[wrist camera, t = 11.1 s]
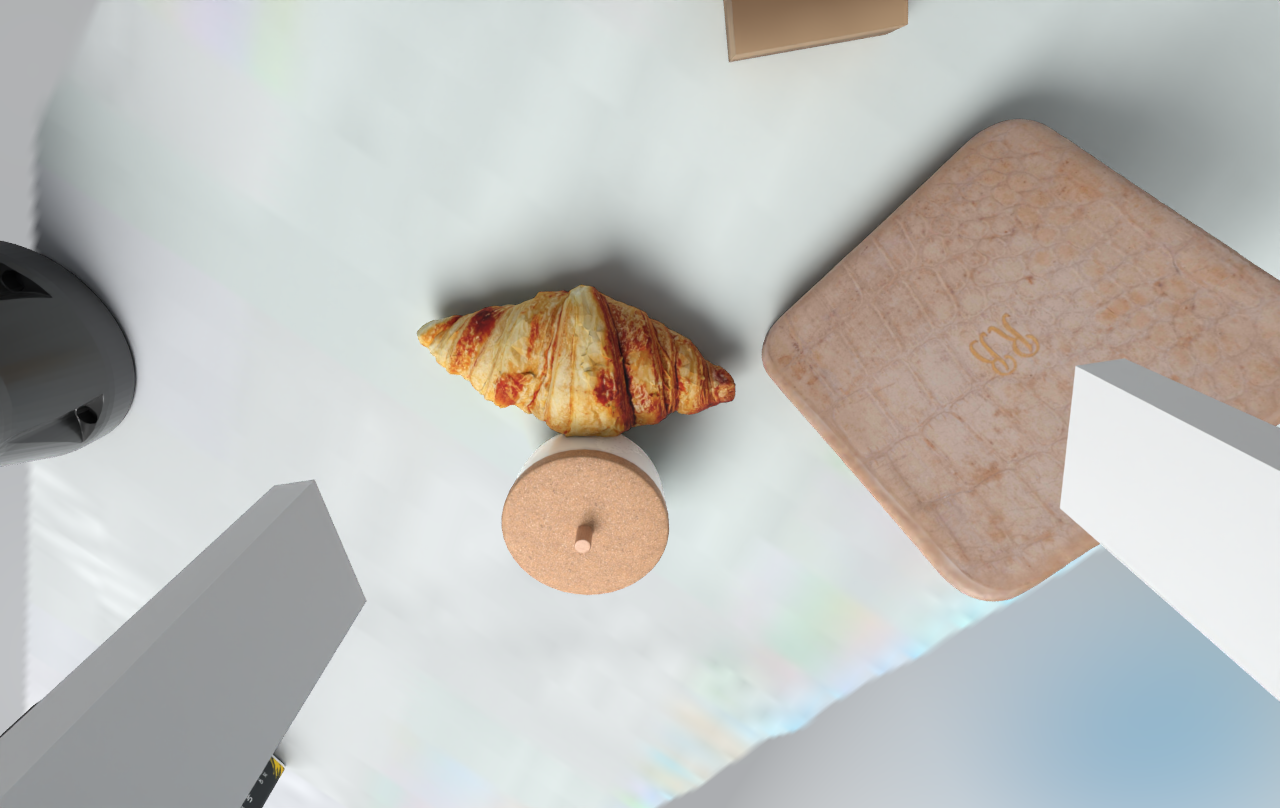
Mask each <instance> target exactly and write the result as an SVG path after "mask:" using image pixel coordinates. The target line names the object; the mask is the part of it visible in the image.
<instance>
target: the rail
mask: <svg viewBox="0 0 1280 808" xmlns="http://www.w3.org/2000/svg"><path fill="white" fill-rule="evenodd" d="M723 1H724V12H725V23H726V35H727V46H728V58H729V62H732V61H738V60H744V59H749V58H755V57H761V56H766V55H772V54H778V53H783V52H789V51H795V50H800V49H806V48H812V47H817V46H823V45H829V44H834V43H840V42H846V41H851V40H857V39H863V38H868V37H874V36H880V35H885V34H888V33H890V32H892V31H894V30H897V29H899V28H901V27H903V26H905V25H907V24H908V0H723Z"/></svg>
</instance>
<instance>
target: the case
mask: <svg viewBox="0 0 1280 808" xmlns="http://www.w3.org/2000/svg"><path fill="white" fill-rule="evenodd" d="M1124 358H1125V359H1127V360H1129V361H1131V362H1133V363H1136V364H1138V365H1140V366H1142V367H1145V368H1147V369H1149V370H1151V371H1154V372H1156V373H1158V374H1160V375H1162V376H1165V377H1167V378H1169V379H1171V380H1174V381H1176V382H1178V383H1180V384H1183V385H1185V386H1187V387H1189V388H1191V389H1194V390H1196V391H1198V392H1200V393H1203V394H1205V395H1207V396H1209V397H1212V398H1214V399H1216V400H1218V401H1220V402H1223V403H1225V404H1227V405H1229V406H1232V407H1234V408H1236V409H1238V410H1241V411H1243V412H1245V413H1247V414H1249V415H1252V416H1254V417H1256V418H1258V419H1261V420H1263V421H1265V422H1267V423H1270V424H1272V425H1274V426H1277V425H1278V424H1280V281H1279V280H1278V279H1276V278H1275V277H1273V276H1272V275H1270V274H1269V273H1267V272H1266V271H1264V270H1263V269H1261V268H1259V267H1258V266H1256V265H1255V264H1253V263H1252V262H1250V261H1249V260H1247V259H1246V258H1244V257H1243V256H1241V255H1240V254H1239V253H1238V252H1236V251H1235V250H1233V249H1232V248H1230V247H1229V246H1227V245H1226V244H1224V243H1223V242H1221V241H1220V240H1218V239H1217V238H1215V237H1214V236H1212V235H1211V234H1209V233H1207V232H1206V231H1204V230H1203V229H1202V228H1200V227H1198V226H1197V225H1195V224H1193V223H1192V222H1190V221H1189V220H1188V219H1186V218H1185V217H1183V216H1181V215H1180V214H1178V213H1177V212H1176V211H1174V210H1173V209H1171V208H1170V207H1168V206H1166V205H1165V204H1163V203H1161V202H1160V201H1159V200H1157V199H1156V198H1154V197H1153V196H1151V195H1150V194H1149V193H1147V192H1146V191H1144V190H1142V189H1141V188H1139V187H1138V186H1136V185H1134V184H1133V183H1132V182H1130V181H1129V180H1127V179H1126V178H1125V177H1123V176H1122V175H1120V174H1118V173H1117V172H1115V171H1114V170H1112V169H1110V168H1109V167H1108V166H1106V165H1105V164H1103V163H1102V162H1100V161H1099V160H1097V159H1096V158H1095V157H1093V156H1092V155H1090V154H1089V153H1087V152H1086V151H1084V150H1083V149H1081V148H1080V147H1078V146H1077V145H1075V144H1074V143H1073V142H1071V141H1070V140H1068V139H1067V138H1065V137H1063V136H1062V135H1060V134H1059V133H1057V132H1056V131H1054V130H1053V129H1051V128H1050V127H1048V126H1046V125H1044V124H1042V123H1039V122H1036V121H1033V120H1027V119H1012V120H1006V121H1002V122H999V123H997V124H994V125H992V126H990V127H988V128H986V129H984V130H982V131H981V132H979V133H978V134H976V135H975V136H974V137H972V138H971V139H970V140H969V141H968V142H966V143H965V144H964V145H963V146H962V147H961V148H960V149H959V150H958V151H957V152H956V153H955V154H954V155H953V156H952V157H951V158H950V159H949V160H948V161H946V162H945V163H944V164H943V165H942V166H941V167H940V168H939V169H938V170H937V171H936V172H935V173H934V174H933V175H932V176H931V177H930V178H929V179H928V180H927V181H926V182H925V183H924V184H922V185H921V186H920V187H919V188H918V189H917V190H916V191H915V192H914V193H913V194H912V195H911V196H910V197H909V198H908V199H907V200H906V201H904V202H903V203H902V204H901V205H900V206H899V207H898V208H897V209H896V210H895V211H894V212H893V213H892V214H891V215H890V216H889V217H887V218H886V219H885V220H884V221H883V222H882V223H881V224H880V225H879V226H878V227H877V228H876V229H875V230H874V231H873V232H872V233H871V234H869V235H868V236H867V237H866V238H865V239H864V240H863V241H862V242H861V243H860V244H859V245H857V246H856V247H855V248H854V249H853V250H852V251H851V252H850V253H849V254H847V255H846V256H845V257H844V258H843V259H842V260H841V261H840V262H839V263H838V264H837V265H836V266H835V267H833V268H832V270H830V271H829V272H828V273H827V274H826V275H825V276H824V277H823V278H822V279H821V280H820V281H819V282H818V283H816V284H815V285H814V286H813V287H812V288H811V289H810V290H809V291H808V292H807V293H806V294H804V295H803V296H802V297H801V298H800V299H799V300H798V301H797V302H796V303H795V304H794V305H793V306H792V307H791V308H790V309H789V310H787V311H786V312H785V313H784V314H783V315H782V316H781V317H780V318H779V319H778V320H777V321H776V322H775V324H774V325H773V326H772V327H771V328H770V330H769V331H768V333H767V335H766V337H765V340H764V343H763V347H762V361H763V365H764V368H765V370H766V372H767V373H768V375H769V376H770V378H771V379H772V380H773V381H774V382H775V383H776V385H777V386H778V387H779V388H780V389H781V391H782V392H783V393H784V394H785V395H786V397H787V398H788V399H789V400H790V401H791V402H792V403H793V404H794V406H795V407H796V408H797V409H798V410H799V411H800V412H801V414H802V415H803V416H804V417H805V418H806V419H807V421H808V422H809V423H810V424H811V425H812V426H813V427H814V428H815V429H816V430H817V432H818V433H819V434H820V435H821V436H822V438H823V439H824V440H825V441H826V442H827V443H828V444H829V445H830V447H831V448H832V449H833V450H834V451H835V452H836V453H837V455H838V456H839V457H840V458H841V459H842V461H843V462H844V463H845V464H846V466H847V467H848V468H849V469H850V470H851V471H852V472H853V473H854V475H855V476H856V477H857V478H858V479H859V480H860V482H861V483H862V484H863V485H864V486H865V487H866V488H867V489H868V491H869V492H870V493H871V494H872V495H873V497H874V498H875V499H876V500H877V501H878V502H879V503H880V504H881V506H882V507H883V508H884V510H885V511H886V512H887V513H888V514H889V515H890V516H891V518H892V519H893V520H894V521H895V522H896V523H897V524H898V526H899V527H900V528H901V529H902V530H903V532H904V533H905V534H906V535H907V536H908V537H909V538H910V540H911V541H912V542H913V543H914V544H915V545H916V546H917V548H918V549H919V550H920V551H921V553H922V554H923V555H924V556H925V557H926V558H927V560H928V561H929V562H930V563H931V564H932V565H933V567H934V568H935V569H936V570H937V571H938V572H939V573H940V575H941V576H942V577H943V578H944V579H945V580H946V581H947V582H949V583H950V584H951V585H952V586H953V587H955V588H956V589H958V590H959V591H961V592H962V593H964V594H966V595H968V596H970V597H973V598H976V599H979V600H984V601H1003V600H1008V599H1012V598H1014V597H1016V596H1018V595H1020V594H1022V593H1024V592H1026V591H1028V590H1029V589H1031V588H1033V587H1034V586H1036V585H1038V584H1039V583H1041V582H1042V581H1044V580H1045V579H1047V578H1048V577H1050V576H1051V575H1053V574H1054V573H1056V572H1057V571H1059V570H1060V569H1062V568H1063V567H1065V566H1066V565H1067V564H1068V563H1070V562H1071V561H1073V560H1075V559H1076V558H1078V557H1080V556H1081V555H1083V554H1084V553H1085V552H1087V551H1089V550H1090V549H1092V548H1094V547H1095V546H1097V545H1099V544H1100V543H1099V542H1098V541H1097V540H1095V539H1094V538H1093V537H1092V536H1091V535H1090V534H1089V533H1088V532H1086V531H1085V530H1084V529H1083V528H1082V527H1081V526H1080V525H1078V524H1077V523H1076V522H1075V521H1074V520H1073V519H1072V518H1070V517H1069V516H1068V515H1067V514H1066V513H1065V512H1064V511H1062V510H1061V509H1060V502H1061V493H1062V484H1063V475H1064V466H1065V457H1066V448H1067V439H1068V430H1069V421H1070V412H1071V403H1072V394H1073V385H1074V376H1075V367H1076V366H1077V365H1084V364H1091V363H1097V362H1104V361H1111V360H1118V359H1124Z"/></svg>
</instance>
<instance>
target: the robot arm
mask: <svg viewBox="0 0 1280 808" xmlns="http://www.w3.org/2000/svg"><path fill="white" fill-rule="evenodd" d="M134 388H135V372H134V365H133V360H132V356H131V353H130V350H129V347H128V344H127V342H126V339H125V337H124V335H123V333H122V331H121V329H120V327H119V325H118V324H117V322H116V321H115V319H114V317H113V316H112V315H111V313H110V312H109V310H108V309H107V308H106V306H105V305H104V304H103V303H102V302H101V300H100V299H99V298H98V297H97V296H96V295H95V294H94V293H93V292H92V291H91V290H90V289H89V288H88V287H87V286H86V285H85V284H84V283H83V282H82V281H80V280H79V279H78V278H77V277H76V276H74V275H73V274H72V273H70V272H69V271H68V270H66V269H65V268H63V267H62V266H60V265H59V264H57V263H56V262H54V261H52V260H50V259H49V258H47V257H45V256H43V255H41V254H39V253H37V252H34V251H32V250H30V249H27V248H24V247H22V246H18V245H16V244H12V243H8V242H4V241H0V467H2V466H7V465H13V464H18V463H24V462H29V461H35V460H40V459H46V458H51V457H57V456H61V455H64V454H67V453H70V452H73V451H76V450H78V449H80V448H82V447H84V446H86V445H88V444H90V443H92V442H93V441H95V440H97V439H99V438H101V437H103V436H105V435H106V434H108V433H109V432H111V431H112V430H113V429H114V428H115V427H117V426H118V425H119V423H120V422H121V421H122V420H123V418H124V417H125V415H126V414H127V412H128V410H129V408H130V405H131V402H132V399H133V395H134ZM1060 509H1061V510H1062V511H1064V512H1065V513H1066V514H1067V515H1068V516H1069V517H1070V518H1072V519H1073V520H1074V521H1075V522H1076V523H1077V524H1078V525H1080V526H1081V527H1082V528H1083V529H1084V530H1085V531H1086V532H1088V533H1089V534H1090V535H1091V536H1092V537H1093V538H1094V539H1095V540H1097V541H1098V542H1099V543H1100V544H1101V545H1102V546H1103V547H1105V548H1106V549H1107V550H1108V551H1109V552H1110V553H1111V554H1113V555H1114V556H1115V557H1116V558H1117V559H1118V560H1119V561H1121V562H1122V563H1123V564H1124V565H1125V566H1126V567H1127V568H1129V569H1130V570H1131V571H1132V572H1133V573H1134V574H1135V575H1137V576H1138V577H1139V578H1140V579H1141V580H1142V581H1143V582H1144V583H1146V584H1147V585H1148V586H1149V587H1150V588H1151V589H1152V590H1153V591H1155V592H1156V593H1157V594H1158V595H1159V596H1160V597H1162V598H1163V599H1164V600H1165V601H1166V602H1167V603H1168V604H1170V605H1171V606H1172V607H1173V608H1174V609H1175V610H1176V611H1178V612H1179V613H1180V614H1181V615H1182V616H1183V617H1184V618H1185V619H1186V620H1188V621H1189V622H1190V623H1191V624H1192V625H1193V626H1194V627H1196V628H1197V629H1198V630H1199V631H1200V632H1201V633H1202V634H1204V635H1205V636H1206V637H1207V638H1208V639H1209V640H1211V642H1213V643H1214V644H1215V645H1216V646H1217V647H1218V648H1219V649H1221V650H1222V651H1223V652H1224V653H1225V654H1226V655H1227V656H1229V657H1230V658H1231V659H1232V660H1233V661H1234V662H1235V663H1237V664H1238V665H1239V666H1240V667H1241V668H1242V669H1243V670H1244V671H1246V672H1247V673H1248V674H1249V675H1250V676H1251V677H1252V678H1254V679H1255V680H1256V681H1257V682H1258V683H1259V684H1260V685H1262V686H1263V687H1264V688H1265V689H1266V690H1267V691H1268V692H1270V693H1271V694H1272V695H1273V696H1274V697H1275V698H1276V699H1278V700H1279V701H1280V428H1278V427H1276V426H1274V425H1272V424H1270V423H1267V422H1265V421H1263V420H1261V419H1258V418H1256V417H1254V416H1252V415H1249V414H1247V413H1245V412H1243V411H1241V410H1238V409H1236V408H1234V407H1232V406H1229V405H1227V404H1225V403H1223V402H1220V401H1218V400H1216V399H1214V398H1212V397H1209V396H1207V395H1205V394H1203V393H1200V392H1198V391H1196V390H1194V389H1191V388H1189V387H1187V386H1185V385H1183V384H1180V383H1178V382H1176V381H1174V380H1171V379H1169V378H1167V377H1165V376H1162V375H1160V374H1158V373H1156V372H1154V371H1151V370H1149V369H1147V368H1145V367H1142V366H1140V365H1138V364H1136V363H1133V362H1131V361H1129V360H1127V359H1125V358H1124V359H1118V360H1111V361H1104V362H1097V363H1091V364H1084V365H1077V366H1076V367H1075V376H1074V385H1073V394H1072V403H1071V412H1070V421H1069V430H1068V439H1067V448H1066V457H1065V466H1064V475H1063V484H1062V493H1061V502H1060ZM365 602H366V599H365V596H364V594H363V592H362V589H361V587H360V585H359V582H358V580H357V578H356V575H355V573H354V571H353V568H352V566H351V564H350V561H349V559H348V557H347V554H346V552H345V550H344V547H343V545H342V543H341V540H340V538H339V536H338V533H337V531H336V529H335V526H334V524H333V522H332V519H331V517H330V515H329V512H328V510H327V508H326V505H325V503H324V501H323V498H322V496H321V494H320V491H319V489H318V487H317V484H316V482H315V480H309V481H302V482H295V483H289V484H282V485H275V486H273V487H272V488H271V489H270V490H269V491H268V492H267V493H266V494H265V495H263V496H262V497H261V498H260V499H259V500H258V501H257V502H256V503H255V504H254V505H253V506H252V507H250V508H249V509H248V510H247V511H246V512H245V513H244V514H243V515H242V516H241V517H240V518H239V519H237V520H236V521H235V522H234V523H233V524H232V525H231V526H230V527H229V528H228V529H227V530H225V531H224V532H223V533H222V534H221V535H220V536H219V537H218V538H217V539H216V540H215V541H214V542H212V543H211V544H210V545H209V546H208V547H207V548H206V549H205V550H204V551H203V552H202V553H201V554H199V555H198V556H197V557H196V558H195V559H194V560H193V561H192V562H191V563H190V564H189V565H188V566H186V567H185V568H184V569H183V570H182V571H181V572H180V573H179V574H178V575H177V576H176V577H174V578H173V579H172V580H171V581H170V582H169V583H168V584H167V585H166V586H165V587H164V588H163V589H161V590H160V591H159V592H158V593H157V594H156V595H155V596H154V597H153V598H152V599H151V600H150V601H148V602H147V603H146V604H145V605H144V606H143V607H142V608H141V609H140V610H139V611H138V612H136V613H135V614H134V615H133V616H132V617H131V618H130V619H129V620H128V621H127V622H126V623H125V624H123V625H122V626H121V627H120V628H119V629H118V630H117V631H116V632H115V633H114V634H113V635H112V636H110V637H109V638H108V639H107V640H106V641H105V642H104V643H103V644H102V645H101V646H100V647H98V648H97V649H96V650H95V651H94V652H93V653H92V654H91V655H90V656H89V657H88V658H87V659H85V660H84V661H83V662H82V663H81V664H80V665H79V666H78V667H77V668H76V669H75V670H74V671H72V672H71V673H70V674H69V675H68V676H67V677H66V678H65V679H64V680H63V681H62V682H61V683H59V684H58V685H57V686H56V687H55V688H54V689H53V690H52V691H51V692H50V693H49V694H47V695H46V696H45V697H44V698H43V699H42V700H41V701H39V702H38V703H36V704H35V705H33V706H32V707H31V708H30V709H29V710H28V711H27V712H26V713H25V714H24V715H23V716H21V717H20V718H19V719H18V720H17V721H16V722H15V723H14V724H13V725H12V726H11V727H9V728H8V729H7V730H6V731H5V732H4V733H3V734H2V735H1V736H0V808H240V807H241V806H242V804H243V802H244V801H245V799H246V798H247V796H248V794H249V793H250V791H251V789H252V788H253V786H254V784H255V783H256V781H257V779H258V778H259V776H260V775H261V773H262V771H263V770H264V768H265V766H266V765H267V763H268V761H269V760H270V758H271V757H272V755H273V753H274V752H275V750H276V748H277V747H278V745H279V743H280V742H281V740H282V739H283V737H284V735H285V734H286V732H287V730H288V729H289V727H290V725H291V724H292V722H293V720H294V719H295V717H296V716H297V714H298V712H299V711H300V709H301V707H302V706H303V704H304V702H305V701H306V699H307V698H308V696H309V694H310V693H311V691H312V689H313V688H314V686H315V684H316V683H317V681H318V679H319V678H320V676H321V675H322V673H323V671H324V670H325V668H326V666H327V665H328V663H329V661H330V660H331V658H332V657H333V655H334V653H335V652H336V650H337V648H338V647H339V645H340V643H341V642H342V640H343V638H344V637H345V635H346V634H347V632H348V630H349V629H350V627H351V625H352V624H353V622H354V620H355V619H356V617H357V616H358V614H359V612H360V611H361V609H362V607H363V606H364V604H365Z"/></svg>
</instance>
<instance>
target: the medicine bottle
mask: <svg viewBox="0 0 1280 808" xmlns="http://www.w3.org/2000/svg"><path fill="white" fill-rule="evenodd" d="M284 769H285V765H284V764H283V763H282V762H281V761H280V760H278V759H277V758H276V757H275V756H274V755H272V757H271V758H270V760H269V761H268V763H267V765H266V766H265V768H264V770H263V771H262V773H261V775H260V776H259V778H258V779H257V781H256V783H255V784H254V786H253V788H252V789H251V791H250V793H249V794H248V796H247V798H246V799H245V801H244V802H243V804H242V806H241V807H240V808H262V807H263V805H264V804H265V802H266V800H267V798H268V797H269V795H270V793H271V792H272V790H273V788H274V786H275V785H276V783H277V781H278V780H279V778H280V776H281V774H282V773H283V771H284Z"/></svg>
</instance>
